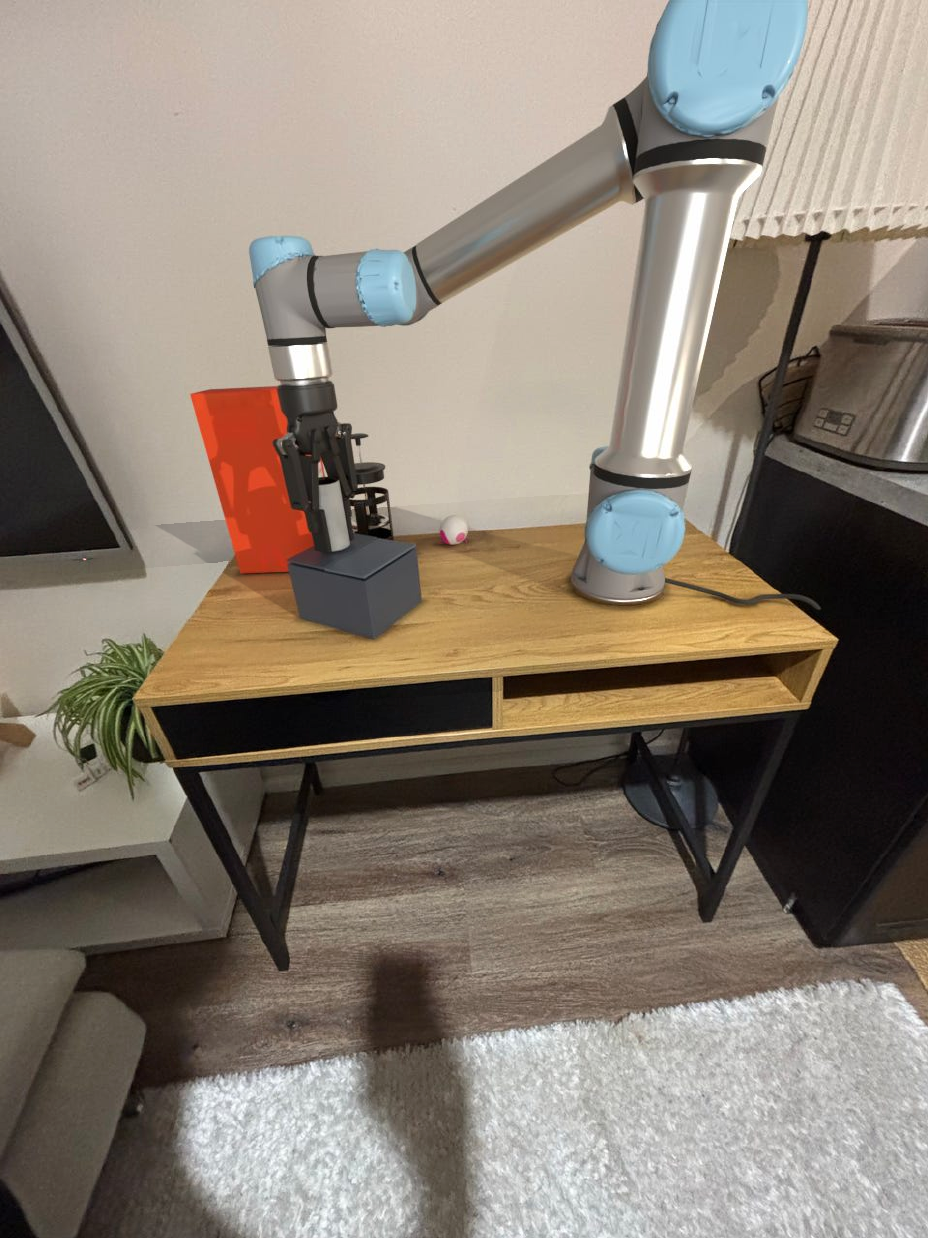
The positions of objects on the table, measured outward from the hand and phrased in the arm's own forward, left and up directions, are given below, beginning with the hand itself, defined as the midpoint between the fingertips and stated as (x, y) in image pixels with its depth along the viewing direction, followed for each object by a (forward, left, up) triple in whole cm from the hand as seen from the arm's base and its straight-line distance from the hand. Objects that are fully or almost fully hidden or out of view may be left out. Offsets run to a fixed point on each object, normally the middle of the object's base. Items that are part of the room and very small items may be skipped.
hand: (335, 544), depth 80 cm
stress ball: (-2, -31, -11) cm, 33 cm away
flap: (-7, 0, -1) cm, 7 cm away
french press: (+11, -21, -11) cm, 26 cm away
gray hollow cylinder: (0, 0, 0) cm, 0 cm away
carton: (-3, 0, -11) cm, 11 cm away
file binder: (+22, -9, -11) cm, 26 cm away
